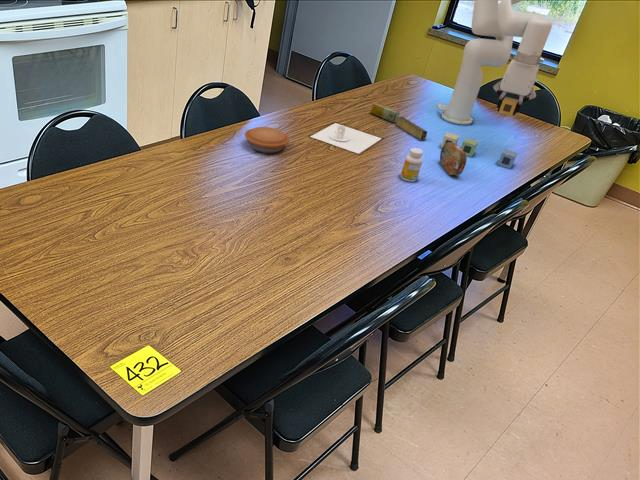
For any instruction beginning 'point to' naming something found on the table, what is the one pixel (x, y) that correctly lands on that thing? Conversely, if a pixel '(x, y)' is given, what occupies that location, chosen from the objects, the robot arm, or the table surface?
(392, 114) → the medication box
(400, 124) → the decorative block
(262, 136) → the pie
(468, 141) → the sage block
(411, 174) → the supplement bottle
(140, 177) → the table surface
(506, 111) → the mustard block
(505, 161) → the blue-grey block
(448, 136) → the cream block
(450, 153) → the tin
